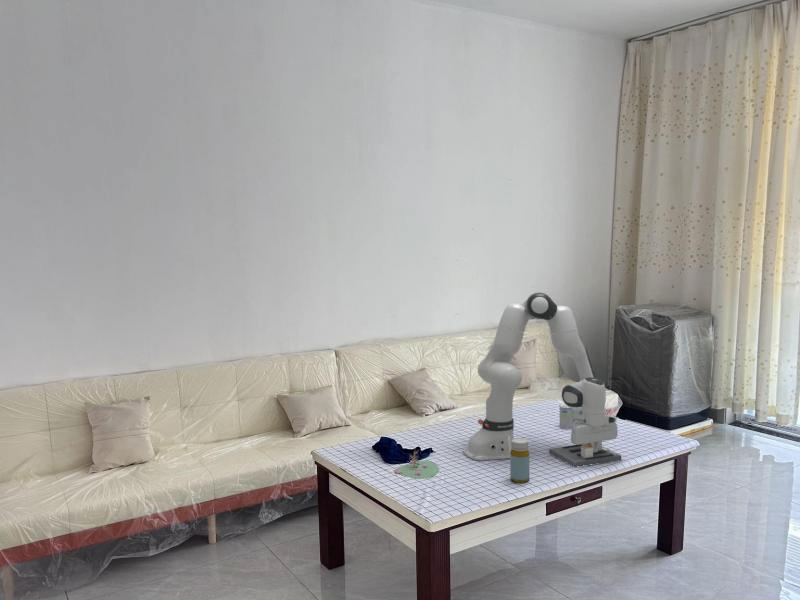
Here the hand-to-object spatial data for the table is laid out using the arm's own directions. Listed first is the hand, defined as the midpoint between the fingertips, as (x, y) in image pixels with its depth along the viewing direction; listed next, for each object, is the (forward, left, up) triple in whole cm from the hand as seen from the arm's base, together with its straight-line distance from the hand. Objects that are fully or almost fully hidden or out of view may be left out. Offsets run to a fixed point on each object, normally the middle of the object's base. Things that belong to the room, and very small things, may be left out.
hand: (594, 452), depth 254 cm
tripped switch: (-4, 0, -1) cm, 4 cm away
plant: (-74, +18, -4) cm, 76 cm away
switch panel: (-1, +5, -4) cm, 6 cm away
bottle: (-38, -7, -4) cm, 38 cm away
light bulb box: (+18, +42, -4) cm, 46 cm away
